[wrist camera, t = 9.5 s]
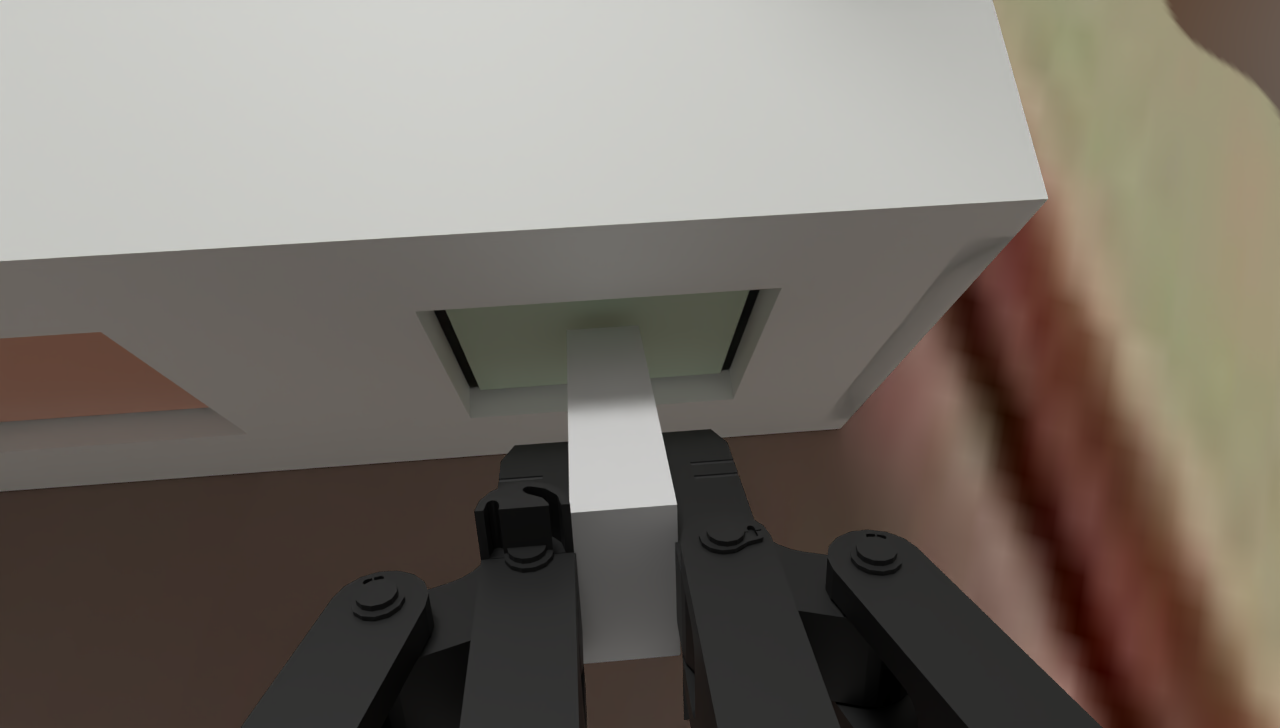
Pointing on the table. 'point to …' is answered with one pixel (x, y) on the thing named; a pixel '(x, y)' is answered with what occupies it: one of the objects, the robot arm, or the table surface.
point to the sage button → (537, 333)
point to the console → (482, 208)
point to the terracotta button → (80, 379)
